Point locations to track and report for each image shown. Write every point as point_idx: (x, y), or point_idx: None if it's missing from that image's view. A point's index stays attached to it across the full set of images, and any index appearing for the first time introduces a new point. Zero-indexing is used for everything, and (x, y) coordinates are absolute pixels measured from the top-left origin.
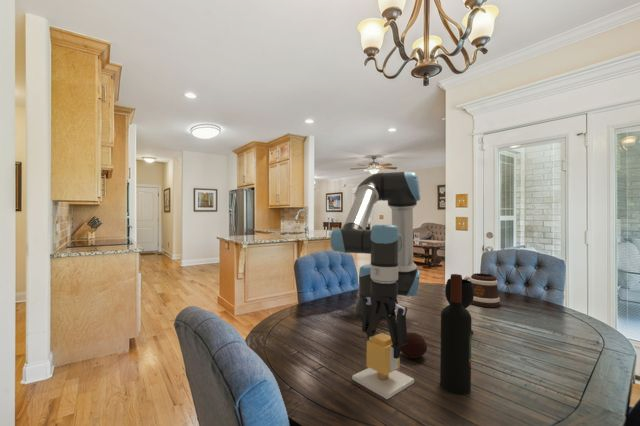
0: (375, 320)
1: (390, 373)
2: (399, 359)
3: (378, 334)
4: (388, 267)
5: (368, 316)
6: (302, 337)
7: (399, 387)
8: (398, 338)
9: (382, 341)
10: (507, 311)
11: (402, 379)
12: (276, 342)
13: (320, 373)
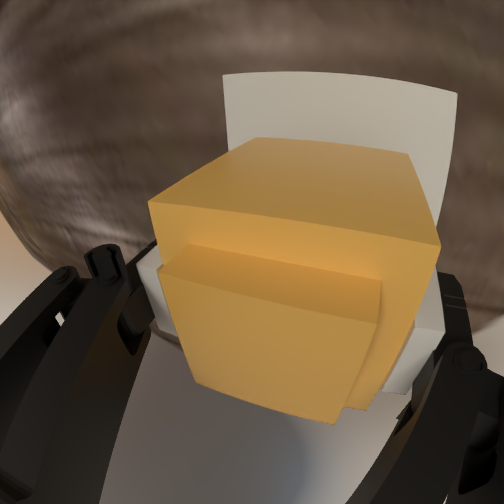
0: (94, 466)
1: (338, 126)
2: (414, 173)
3: (178, 328)
4: None
5: (16, 404)
6: (21, 169)
7: (436, 215)
8: (457, 483)
9: (311, 416)
10: None
11: (416, 137)
12: (36, 231)
13: None
